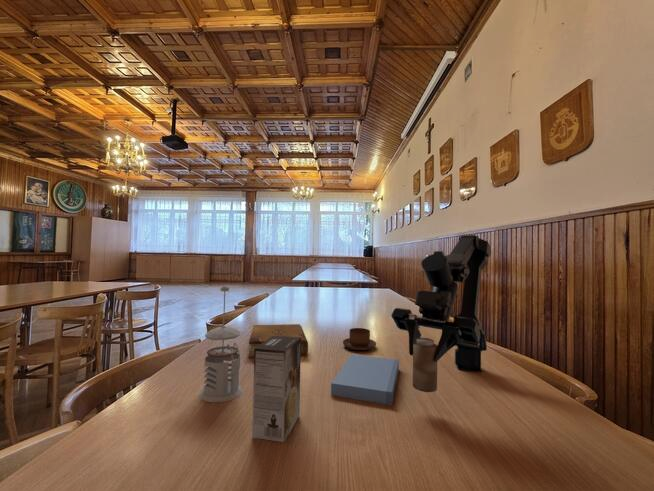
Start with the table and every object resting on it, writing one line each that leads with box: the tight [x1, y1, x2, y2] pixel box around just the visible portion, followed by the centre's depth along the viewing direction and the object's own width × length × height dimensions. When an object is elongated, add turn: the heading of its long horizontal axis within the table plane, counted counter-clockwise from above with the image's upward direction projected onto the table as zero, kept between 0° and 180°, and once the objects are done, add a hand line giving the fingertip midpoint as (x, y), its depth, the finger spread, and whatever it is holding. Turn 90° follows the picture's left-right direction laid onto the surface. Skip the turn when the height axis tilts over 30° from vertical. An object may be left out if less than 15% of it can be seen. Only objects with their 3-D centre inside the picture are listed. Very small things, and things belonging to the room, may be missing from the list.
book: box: [330, 353, 400, 406], centre depth 79 cm, size 14×22×3 cm, turn 163°
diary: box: [247, 323, 309, 360], centre depth 107 cm, size 23×19×6 cm
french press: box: [198, 285, 244, 403], centre depth 71 cm, size 10×12×25 cm
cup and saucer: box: [342, 327, 377, 351], centre depth 108 cm, size 12×12×6 cm
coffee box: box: [251, 336, 302, 443], centre depth 57 cm, size 9×6×16 cm
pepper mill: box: [412, 337, 438, 393], centre depth 65 cm, size 5×5×10 cm
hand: (422, 357), depth 64 cm, fingers closed on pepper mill, 5 cm apart
